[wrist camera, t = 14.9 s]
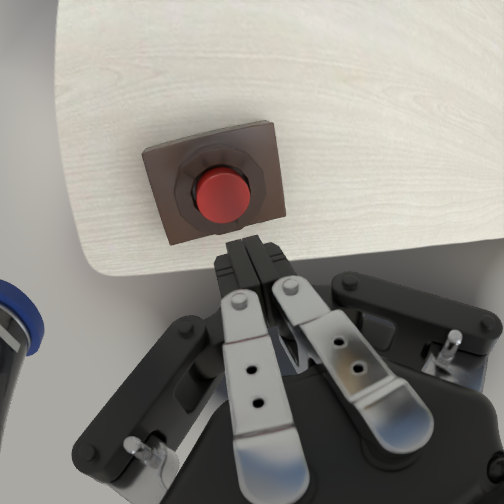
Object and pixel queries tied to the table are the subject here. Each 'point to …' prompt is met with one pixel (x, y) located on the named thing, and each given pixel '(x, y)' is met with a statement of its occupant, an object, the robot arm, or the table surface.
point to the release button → (222, 195)
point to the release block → (209, 157)
